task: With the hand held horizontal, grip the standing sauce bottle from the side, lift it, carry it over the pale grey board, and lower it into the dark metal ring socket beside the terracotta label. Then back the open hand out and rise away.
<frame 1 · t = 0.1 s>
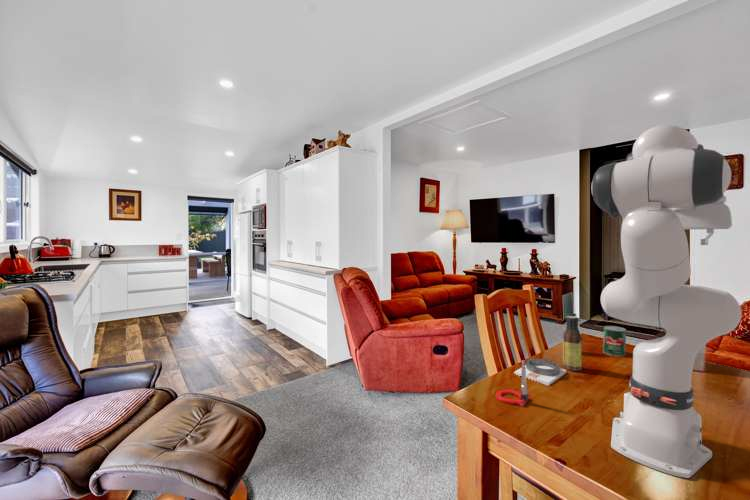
hand: (682, 244, 101), 48 cm above the table, tool pointing down, fingers open, 8 cm apart
socket board: (540, 373, 121), on the table
supplement bottle: (573, 352, 144), on the table
sauce bottle: (571, 369, 126), on the table
canned tomato: (613, 353, 143), on the table
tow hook: (511, 399, 103), on the table
cracker box: (685, 365, 130), on the table
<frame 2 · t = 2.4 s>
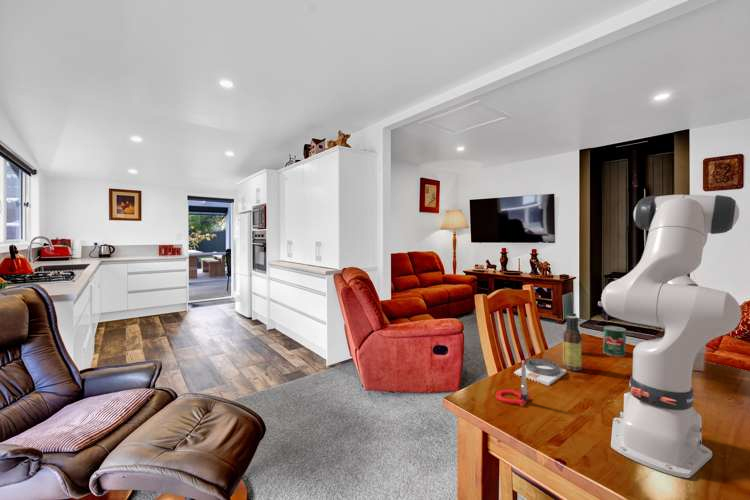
hand: (606, 306, 124), 24 cm above the table, tool horizontal, fingers open, 8 cm apart
nothing on the table moved.
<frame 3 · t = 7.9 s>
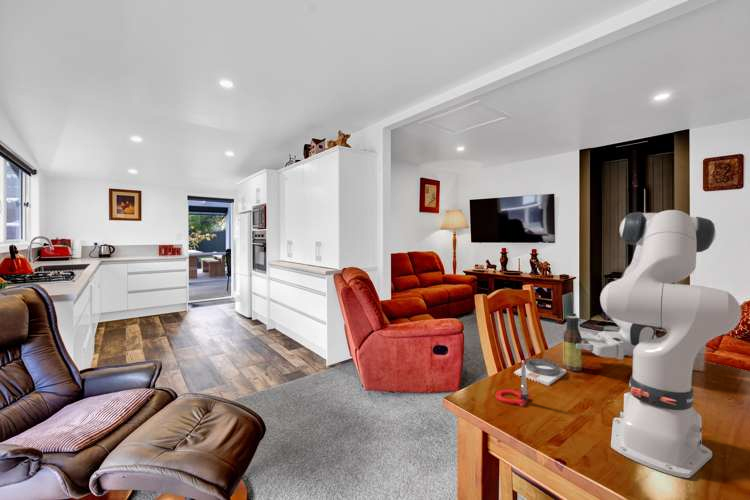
hand: (570, 342, 126), 10 cm above the table, tool horizontal, fingers closed on sauce bottle, 6 cm apart
sauce bottle: (571, 368, 126), on the table, touching gripper
everything else where it was.
when the fingers open (12 cm above the table, at t = 17.7 s): sauce bottle stays where it is, resting on socket board.
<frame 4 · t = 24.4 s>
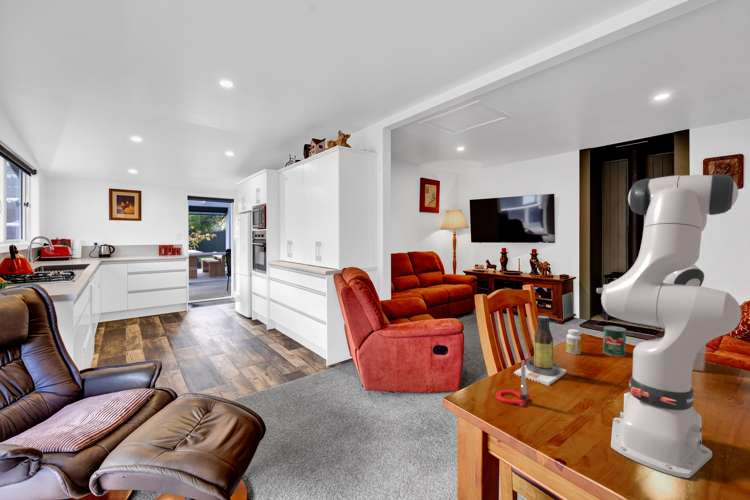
hand: (605, 292, 120), 30 cm above the table, tool horizontal, fingers open, 8 cm apart
sauce bottle: (543, 370, 122), point 1 cm above the table, touching socket board
everything else where it was.
at the end: sauce bottle 0.5 cm from the target spot on the socket board, point 0.8 cm above the socket board's base; sauce bottle tilted 0°; the gripper is holding nothing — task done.
